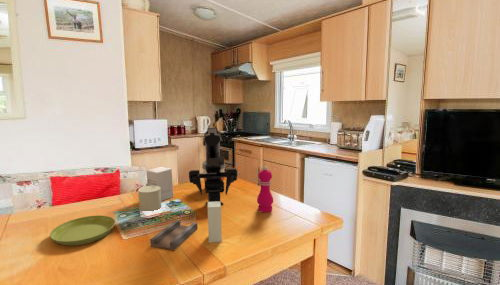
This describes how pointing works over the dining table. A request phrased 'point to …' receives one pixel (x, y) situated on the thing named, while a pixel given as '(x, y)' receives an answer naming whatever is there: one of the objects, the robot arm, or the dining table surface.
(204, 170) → the reusable coffee cup
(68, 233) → the saucer
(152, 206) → the can
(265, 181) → the pepper mill
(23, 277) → the dining table surface
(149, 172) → the supplement box
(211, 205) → the white rectangular block
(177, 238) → the floor track
